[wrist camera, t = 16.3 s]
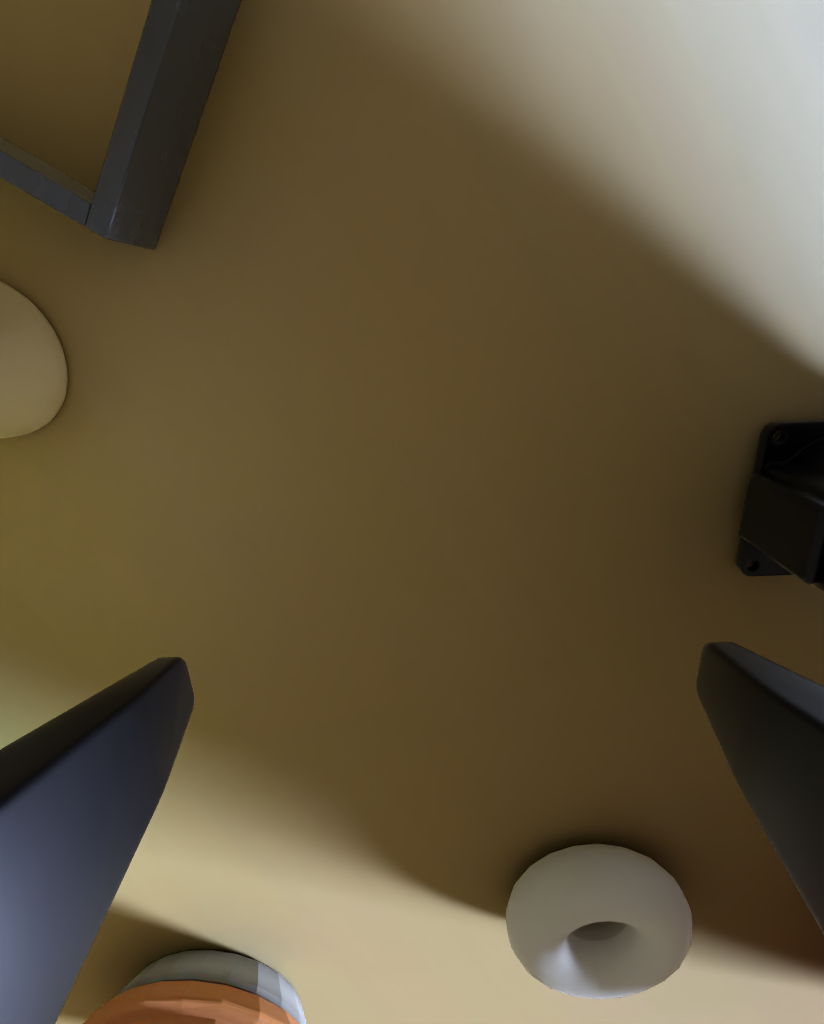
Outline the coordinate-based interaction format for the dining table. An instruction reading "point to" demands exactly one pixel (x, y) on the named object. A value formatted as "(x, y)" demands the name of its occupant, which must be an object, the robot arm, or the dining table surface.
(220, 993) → the pie
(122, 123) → the dark grey hollow frame
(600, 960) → the donut
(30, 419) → the silver metal goblet
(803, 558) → the robot arm
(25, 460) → the dining table surface
